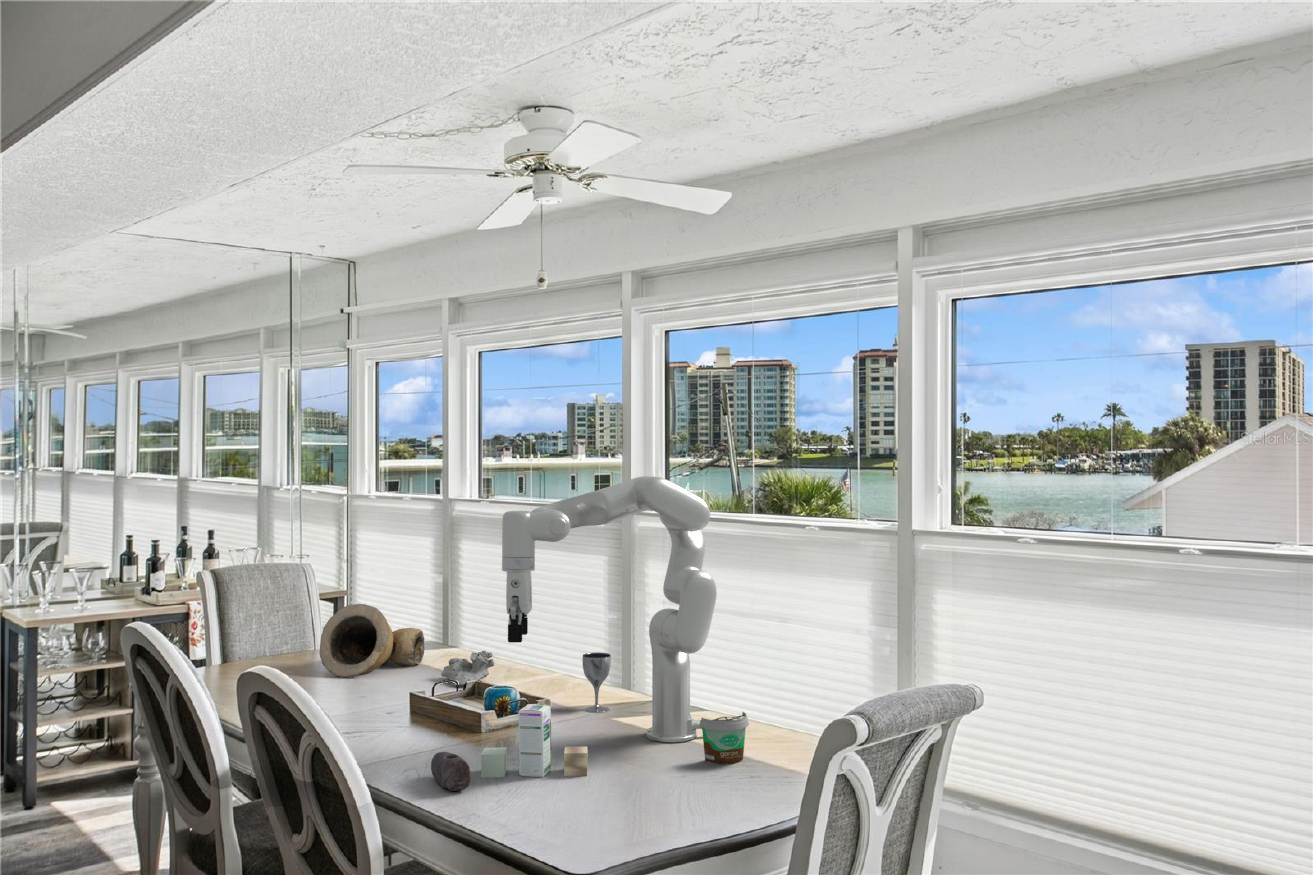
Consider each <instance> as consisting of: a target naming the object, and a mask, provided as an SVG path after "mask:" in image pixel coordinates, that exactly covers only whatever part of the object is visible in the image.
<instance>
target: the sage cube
mask: <svg viewBox="0 0 1313 875" xmlns="http://www.w3.org/2000/svg"><path fill="white" fill-rule="evenodd" d="M507 752H508V750H507V747H484V748H483V750H482V752H481V755H480V757H481V758H480V759H481V761H480V763H481V764H480V765H481V766H480V770H481V771H480V773H481V774H480V777H481V778H505V776H506V774H507V770H508V766H507V765H508V764H507V763H508V761H507V760H508V758H507V757H508V755H507V754H508V753H507Z"/></svg>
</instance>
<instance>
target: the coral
mask: <svg viewBox="0 0 1313 875" xmlns="http://www.w3.org/2000/svg"><path fill="white" fill-rule="evenodd" d="M493 656H494V655H493V652H491V651H490V652H487V651H486V650H482V651H479V652H471V655H470V656H469V659H470V660H471V662H470V661H469V660H468V659H467V658H455V657H454V658H450V659H449V660H448V665H446V666H444V667H443V670H442V672H441V674H440V676H441V677H442V678H443V677H444V678H446V679H448V680H449V679H453V680H458V681H459V686H460V687H461V686H465V685H464V684H465V683H466V682H467V681H471V680H479V681H480V679H481V680H482V679H484V678H486V677H488V676H489V675H490V672H489V670H488V669H489V668H492V667H494V666H495V661H494V659H493V658H492V657H493ZM452 684H453V686H455V683H452ZM459 686H458V687H459Z"/></svg>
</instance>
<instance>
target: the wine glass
mask: <svg viewBox="0 0 1313 875" xmlns="http://www.w3.org/2000/svg"><path fill="white" fill-rule="evenodd" d="M611 665H612V654H611V653H608V652H602V651H601V652H599V651H597V652H596V651H593V652H587V653H584V654H582V670H583V674H584V676H585V678H586V679H587V681H589V683H590V684H591V685H592V687H593V690H594V699H595V700H594V702H595V703H594V705H591V706H587V707H584V708H583V710H584V712H587V713H595V714H599V713H600V714H601V713H606V712H608V711H610V708H609V707H608V706H605V705H603V706H602V705H600V704H599V692H600V688H601V686H602V685H603V683H604V682H605V681H606V679H607V678H608V676H609V674H610V671H611V667H612V666H611Z"/></svg>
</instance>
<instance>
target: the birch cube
mask: <svg viewBox="0 0 1313 875" xmlns="http://www.w3.org/2000/svg"><path fill="white" fill-rule="evenodd" d="M587 776H588V746H565V747H564V752H563V777H587Z"/></svg>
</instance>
